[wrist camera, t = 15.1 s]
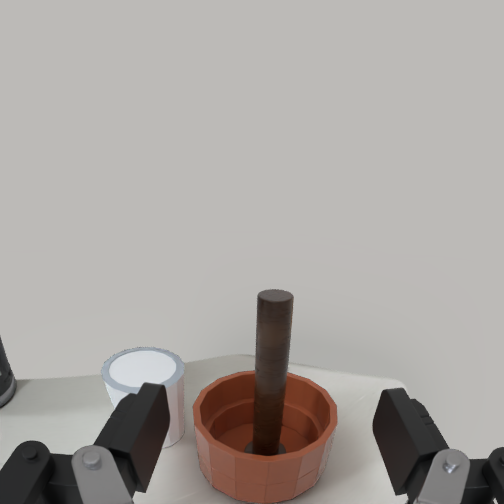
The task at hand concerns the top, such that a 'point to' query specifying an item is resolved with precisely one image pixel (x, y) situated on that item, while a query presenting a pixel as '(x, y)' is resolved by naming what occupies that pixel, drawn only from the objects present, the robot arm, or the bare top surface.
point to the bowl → (241, 433)
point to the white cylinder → (152, 371)
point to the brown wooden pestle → (270, 370)
